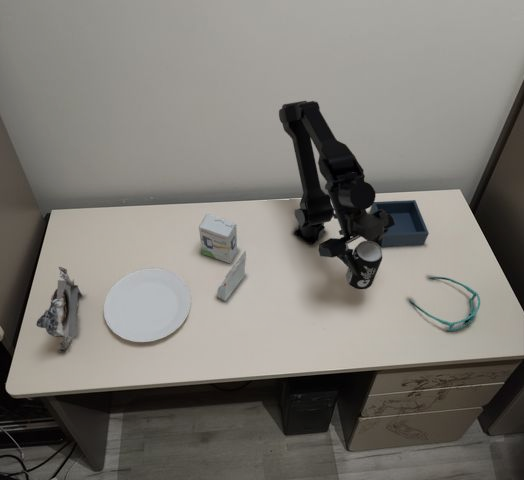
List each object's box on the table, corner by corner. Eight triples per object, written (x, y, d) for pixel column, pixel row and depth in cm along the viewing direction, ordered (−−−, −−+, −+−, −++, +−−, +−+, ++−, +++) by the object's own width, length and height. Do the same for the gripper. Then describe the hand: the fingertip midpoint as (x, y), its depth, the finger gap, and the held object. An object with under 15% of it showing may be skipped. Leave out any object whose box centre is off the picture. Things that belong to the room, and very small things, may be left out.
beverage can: (377, 281, 119) (390, 252, 110) (359, 296, 116) (370, 267, 107) (358, 264, 122) (368, 234, 113) (339, 277, 119) (348, 248, 110)
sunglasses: (458, 342, 117) (463, 331, 114) (404, 308, 125) (407, 297, 121) (484, 306, 124) (490, 294, 121) (431, 276, 131) (435, 264, 128)
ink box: (237, 251, 133) (237, 222, 123) (229, 265, 130) (229, 236, 120) (209, 241, 134) (207, 212, 125) (200, 254, 131) (197, 226, 122)
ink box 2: (216, 298, 123) (215, 271, 114) (236, 272, 128) (236, 245, 119) (226, 303, 122) (225, 276, 113) (245, 277, 127) (246, 250, 118)
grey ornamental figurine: (65, 297, 121) (50, 266, 111) (83, 297, 122) (69, 266, 111) (53, 353, 112) (35, 325, 102) (73, 352, 112) (56, 324, 102)
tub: (379, 247, 135) (383, 235, 131) (369, 213, 143) (372, 201, 139) (423, 245, 136) (428, 233, 132) (410, 211, 144) (415, 199, 140)
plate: (97, 288, 123) (95, 283, 122) (177, 263, 129) (176, 258, 127) (115, 359, 111) (113, 354, 110) (203, 328, 117) (202, 323, 116)
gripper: (334, 223, 99) (358, 291, 103) (400, 189, 106) (421, 253, 110) (306, 222, 110) (329, 284, 113) (369, 191, 116) (389, 250, 120)
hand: (368, 268), depth 113 cm, fingers closed on beverage can, 6 cm apart
